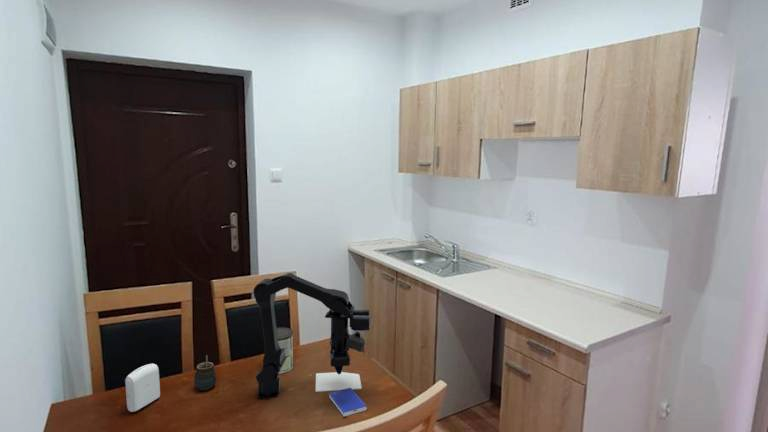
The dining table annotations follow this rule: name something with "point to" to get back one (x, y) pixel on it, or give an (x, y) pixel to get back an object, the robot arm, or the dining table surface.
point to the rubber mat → (337, 381)
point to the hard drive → (347, 401)
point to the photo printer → (142, 387)
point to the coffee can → (286, 347)
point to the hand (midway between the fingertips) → (339, 373)
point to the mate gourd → (205, 375)
